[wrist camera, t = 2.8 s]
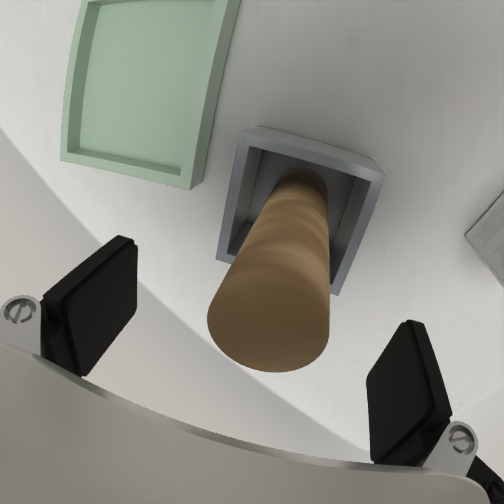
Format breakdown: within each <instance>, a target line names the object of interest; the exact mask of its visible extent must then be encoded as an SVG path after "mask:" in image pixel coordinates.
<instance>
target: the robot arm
mask: <svg viewBox="0 0 504 504" xmlns="http://www.w3.org/2000/svg"><path fill="white" fill-rule="evenodd" d="M137 261H138V247H137V245H135V244H134V240H133V239H130V238H127V237H124V236H121V235H117V236H116V237H114V238H113V239H112V240H110V241H109V242H108V243H106V244H105V245H104V246H102V247H101V248H100V249H99V250H97V251H96V252H95V253H94V254H92V255H91V256H90V257H88V258H87V259H86V260H85V261H83V262H82V263H81V264H80V265H78V266H77V267H76V268H75V269H73V270H72V271H71V272H70V273H69V274H67V275H66V276H65V277H64V278H63V279H61V280H60V281H59V282H58V283H57V284H55V285H54V286H53V287H52V288H51V289H50V290H48V291H47V292H46V293H45V294H44V295H43V298H44V299H42V300H41V301H40V302H38V300H37V299H35V298H34V297H31V296H28V295H20V296H15V297H13V298H11V299H9V300H8V301H6V302H5V303H4V304H3V306H2V307H1V310H0V504H504V482H503V480H502V479H501V478H500V477H499V476H498V475H497V474H496V473H495V472H494V471H492V470H491V469H490V468H489V467H488V466H487V465H486V464H485V463H484V462H483V461H482V460H481V459H480V458H478V457H477V456H476V452H477V449H478V439H477V436H476V434H475V433H474V431H473V429H472V428H471V427H470V426H469V425H467V424H465V423H464V422H460V421H454V422H450V417H451V416H452V415H453V414H452V410H451V406H450V403H449V399H448V395H447V392H446V389H445V385H444V382H443V379H442V375H441V372H440V369H439V366H438V363H437V360H436V357H435V354H434V351H433V348H432V345H431V342H430V339H429V337H428V334H427V331H426V328H425V326H424V324H423V323H421V322H417V321H414V320H410V319H409V320H407V321H406V322H402V323H401V324H400V325H399V327H398V329H397V330H396V332H395V333H394V335H393V337H392V338H391V340H390V342H389V343H388V345H387V346H386V348H385V349H384V351H383V353H382V354H381V356H380V357H379V359H378V360H377V362H376V363H375V365H374V366H373V368H372V369H371V371H370V372H369V374H368V376H367V379H366V387H367V399H368V414H369V432H370V458H371V460H372V461H374V464H369V463H360V462H351V461H343V460H335V459H328V458H322V457H315V456H309V455H304V454H299V453H293V452H288V451H284V450H279V449H274V448H270V447H266V446H261V445H257V444H253V443H249V442H245V441H242V440H237V439H234V438H231V437H227V436H223V435H221V434H217V433H214V432H211V431H207V430H205V429H201V428H198V427H195V426H192V425H190V424H186V423H184V422H181V421H178V420H176V419H173V418H170V417H167V416H165V415H162V414H159V413H157V412H154V411H152V410H150V409H147V408H145V407H142V406H140V405H138V404H135V403H133V402H131V401H128V400H126V399H124V398H122V397H119V396H117V395H115V394H113V393H111V392H109V391H107V390H105V389H102V388H100V387H98V386H96V385H94V384H92V383H90V382H88V381H86V380H84V379H82V378H81V377H82V376H87V375H88V374H89V373H90V371H91V370H92V369H93V367H94V366H95V364H96V363H97V361H99V359H100V358H101V357H102V355H103V354H104V353H105V351H106V350H107V348H108V347H109V346H110V345H111V343H112V342H113V341H114V340H115V338H116V337H117V336H118V334H119V333H120V332H121V331H122V329H123V328H124V327H125V325H126V324H127V323H128V322H129V320H130V319H131V318H132V317H133V315H134V314H135V311H136V309H137Z"/></svg>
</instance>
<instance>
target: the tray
mask: <svg viewBox="0 0 504 504" xmlns="http://www.w3.org/2000/svg"><path fill="white" fill-rule="evenodd" d="M240 1H241V0H82V2H81V6H80V9H79V13H78V18H77V22H76V26H75V31H74V35H73V40H72V46H71V51H70V57H69V63H68V69H67V76H66V84H65V92H64V102H63V113H62V127H61V150H60V161H64V162H69V163H74V164H79V165H83V166H88V167H93V168H97V169H102V170H106V171H111V172H115V173H120V174H124V175H128V176H133V177H137V178H141V179H145V180H150V181H154V182H158V183H162V184H166V185H170V186H174V187H178V188H182V189H186V190H191V189H192V188H194V187H195V186H196V185H198V184H199V183H201V182H202V180H203V174H204V168H205V163H206V157H207V151H208V146H209V140H210V135H211V130H212V124H213V119H214V114H215V109H216V104H217V99H218V94H219V89H220V85H221V80H222V76H223V71H224V66H225V62H226V58H227V53H228V49H229V45H230V41H231V36H232V32H233V28H234V24H235V20H236V16H237V12H238V9H239V5H240Z"/></svg>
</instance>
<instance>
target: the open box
mask: <svg viewBox="0 0 504 504" xmlns="http://www.w3.org/2000/svg"><path fill="white" fill-rule="evenodd" d="M262 149H264V150H268V151H272V152H276V153H280V154H283V155H287V156H291V157H294V158H298V159H301V160H305V161H308V162H312V163H315V164H319V165H322V166H325V167H328V168H332V169H335V170H338V171H341V172H344V173H347V174H351V175H354V176H356V178H355V181H354V184H353V187H352V190H351V193H350V196H349V199H348V202H347V205H346V208H345V211H344V213H343V216H342V219H341V222H340V225H339V228H338V231H337V233H336V236H335V239H334V242H333V244H332V247H331V248H330V247H329V267H330V293H331V294H334V295H339V292H340V290H341V288H342V286H343V283H344V281H345V279H346V277H347V274H348V272H349V269H350V267H351V265H352V262H353V260H354V258H355V255H356V253H357V250H358V248H359V245H360V243H361V240H362V238H363V235H364V233H365V230H366V228H367V225H368V222H369V220H370V217H371V214H372V212H373V209H374V206H375V204H376V201H377V198H378V195H379V192H380V190H381V187H382V184H383V181H384V178H385V175H386V174H385V173H384V172H383V171H382V170H381V169H380V168H379V166H378V165H377V164H376V163H375V162H374V161H373V160H372V159H371V158H369V157H366V156H363V155H361V154H358V153H355V152H352V151H348V150H345V149H342V148H339V147H336V146H333V145H329V144H326V143H323V142H319V141H316V140H313V139H309V138H306V137H302V136H298V135H295V134H291V133H287V132H283V131H279V130H275V129H271V128H267V127H263V126H256V127H253V128H250V129H247V130H245V131H242V132H240V136H239V141H238V145H237V150H236V155H235V160H234V165H233V170H232V175H231V180H230V185H229V190H228V195H227V200H226V205H225V210H224V216H223V221H222V226H221V232H220V237H219V243H218V248H217V254H216V260H219V261H222V262H226V263H229V264H232V263H233V261H234V259H235V258H236V256H237V254H238V252H239V250H240V248H241V247H242V245H243V243H244V241H245V239H246V237H247V236H248V234H249V232H250V230H251V228H252V226H253V225H252V224H248V223H246V219H247V214H248V210H249V206H250V201H251V197H252V192H253V188H254V184H255V179H256V175H257V170H258V166H259V162H260V157H261V153H262Z"/></svg>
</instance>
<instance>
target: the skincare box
mask: <svg viewBox="0 0 504 504" xmlns="http://www.w3.org/2000/svg"><path fill="white" fill-rule="evenodd" d="M465 238H466V239H467V240H468V242H469V243H470V244H471V246H472V247H473V248H474V250H475V251H476V252H477V254H478V255H479V256H480V258H481V259H482V260H483V262H484V263H485V264H486V266H487V267H488V268H489V270H490V271H491V272H492V273H493V275H494V276H495V277H496V279H497V280H498V281H499V283H500V284H501V285H502V287H503V288H504V192H503V194H502V195H501V196H500V197H499V198H498V199H497V201H496V202H495V203H494V204H493V205H492V206H491V208H490V209H489V210H488V211H487V212H486V213H485V214H484V216H483V217H482V218H481V219H480V220H479V221H478V222H477V223H476V224H475V225H474V226H473V228H472V229H471V230H470V231H469V232H468V233H467V234H466V235H465Z"/></svg>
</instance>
